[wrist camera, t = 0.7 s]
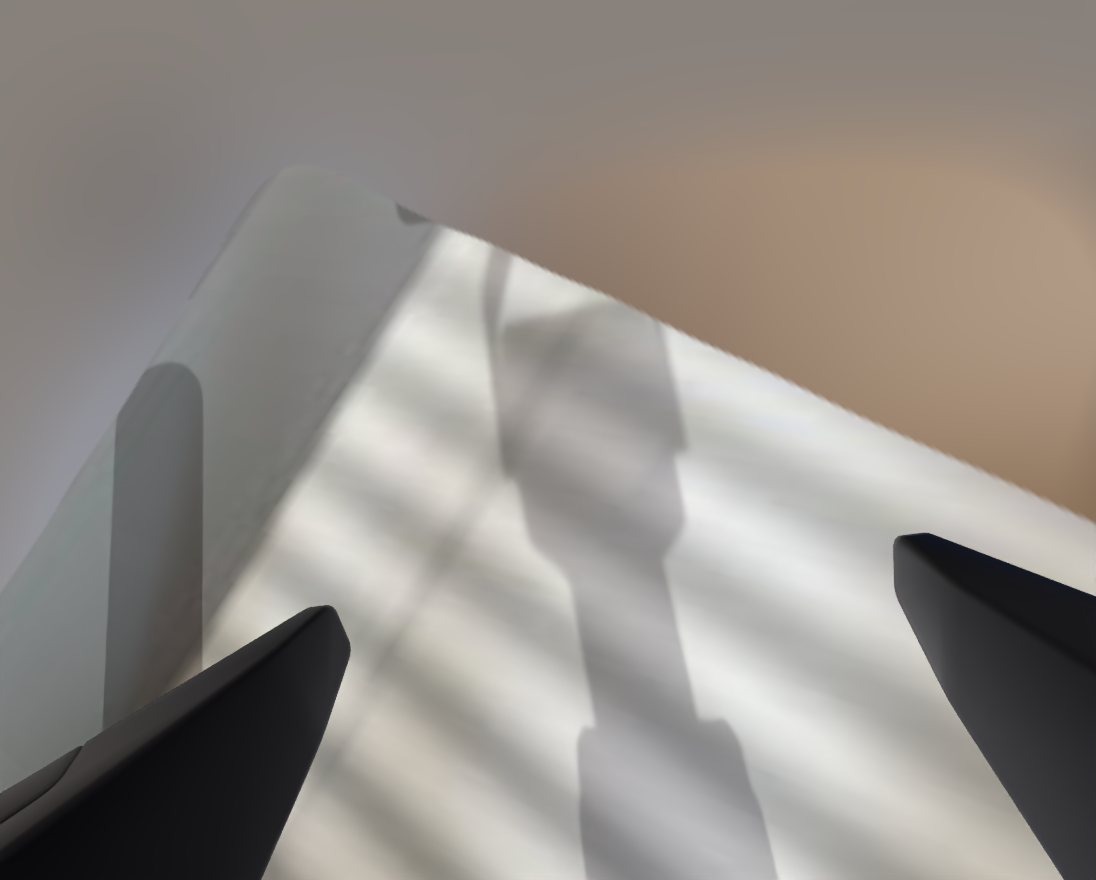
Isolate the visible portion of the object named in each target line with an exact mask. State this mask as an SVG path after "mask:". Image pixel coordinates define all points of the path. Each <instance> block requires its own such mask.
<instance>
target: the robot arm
mask: <svg viewBox="0 0 1096 880" xmlns="http://www.w3.org/2000/svg"><path fill="white" fill-rule="evenodd" d="M893 560H894V587H895V592H896V596H897V599H898V601H899V603H900V605H901V607H902V609H903V611H904V613H905V615H906V617H907V619H908V621H909V623H910V625H911V627H912V629H913V631H914V633H915V635H916V637H917V639H918V641H919V643H920V645H921V647H922V649H923V651H924V653H925V655H926V657H927V659H928V661H929V663H930V665H931V667H932V669H933V671H934V673H935V675H936V677H937V679H938V681H939V683H940V685H941V687H942V689H943V691H944V693H945V695H946V697H947V698H948V700H949V702H950V704H951V705H952V707H953V708H954V710H955V712H956V713H957V715H958V717H959V718H960V720H961V721H962V723H963V724H964V726H965V727H966V729H967V731H968V732H969V734H970V735H971V737H972V738H973V740H974V741H975V743H976V744H977V746H978V748H979V749H980V751H981V752H982V754H983V755H984V757H985V758H986V760H987V762H988V763H989V765H990V766H991V768H992V769H993V771H994V772H995V774H996V775H997V777H998V779H999V780H1000V782H1001V783H1002V785H1003V786H1004V788H1005V789H1006V791H1007V792H1008V794H1009V796H1010V797H1011V799H1012V800H1013V802H1014V803H1015V805H1016V806H1017V808H1018V809H1019V811H1020V813H1021V814H1022V816H1023V817H1024V819H1025V820H1026V822H1027V823H1028V825H1029V826H1030V828H1031V830H1032V831H1033V833H1034V834H1035V836H1036V837H1037V839H1038V840H1039V842H1040V843H1041V845H1042V847H1043V848H1044V850H1045V851H1046V853H1047V854H1048V856H1049V857H1050V859H1051V860H1052V862H1053V864H1054V865H1055V867H1056V868H1057V870H1058V871H1059V873H1060V874H1061V876H1062V877H1063V879H1064V880H1096V596H1093V595H1090V594H1088V593H1085V592H1083V591H1080V590H1077V589H1075V588H1072V587H1069V586H1067V585H1064V584H1062V583H1059V582H1056V581H1054V580H1051V579H1048V578H1046V577H1043V576H1041V575H1038V574H1035V573H1033V572H1030V571H1027V570H1025V569H1022V568H1020V567H1017V566H1014V565H1012V564H1009V563H1006V562H1004V561H1001V560H999V559H996V558H993V557H991V556H988V555H985V554H983V553H980V552H978V551H975V550H972V549H970V548H967V547H964V546H962V545H959V544H957V543H954V542H951V541H949V540H946V539H943V538H941V537H938V536H936V535H933V534H930V533H917V534H909V535H902V536H898V537H897V538H896V539H895V540H894V544H893ZM350 651H351V649H350V642H349V639H348V637H347V634H346V632H345V630H344V627H343V625H342V623H341V621H340V618H339V616H338V614H337V612H336V610H335V609H334V608H333V607H332V606H329V605H324V606H316V607H309V608H307V609H305V610H303V611H301V612H300V613H298V614H296V615H295V616H293V617H292V618H290V619H288V620H287V621H285V622H283V623H282V624H280V625H278V626H277V627H275V628H273V629H272V630H270V631H268V632H267V633H265V634H264V635H262V636H260V637H259V638H257V639H255V640H254V641H252V642H250V643H249V644H247V645H245V646H244V647H242V648H240V649H239V650H237V651H236V652H234V653H232V654H231V655H229V656H227V657H226V658H224V659H222V660H221V661H219V662H217V663H216V664H214V665H212V666H211V667H209V668H208V669H206V670H204V671H203V672H201V673H199V674H198V675H196V676H194V677H193V678H191V679H189V680H188V681H186V682H184V683H183V684H181V685H180V686H178V687H176V688H175V689H173V690H171V691H170V692H168V693H166V694H165V695H163V696H161V697H160V698H158V699H156V700H155V701H153V702H152V703H150V704H148V705H147V706H145V707H143V708H142V709H140V710H138V711H137V712H135V713H133V714H132V715H130V716H128V717H127V718H125V719H124V720H122V721H120V722H119V723H117V724H115V725H114V726H112V727H110V728H109V729H107V730H105V731H104V732H102V733H100V734H99V735H97V736H96V737H94V738H92V739H91V740H89V741H87V742H86V743H85V744H84V746H79V747H77V748H76V749H74V750H72V751H71V752H69V753H67V754H66V755H64V756H62V757H61V758H59V759H57V760H56V761H54V762H53V763H51V764H49V765H47V766H46V767H44V768H42V769H41V770H39V771H37V772H36V773H34V774H32V775H31V776H29V777H27V778H26V779H24V780H22V781H21V782H19V783H17V784H16V785H14V786H12V787H11V788H9V789H7V790H5V791H4V792H2V793H0V880H261V879H262V877H263V874H264V872H265V870H266V867H267V865H268V863H269V861H270V858H271V856H272V854H273V851H274V849H275V847H276V845H277V842H278V840H279V838H280V835H281V833H282V831H283V829H284V826H285V824H286V822H287V819H288V817H289V815H290V812H291V810H292V808H293V806H294V803H295V801H296V799H297V796H298V794H299V792H300V790H301V787H302V785H303V783H304V780H305V778H306V776H307V774H308V771H309V769H310V767H311V764H312V762H313V760H314V758H315V755H316V753H317V750H318V748H319V745H320V743H321V741H322V738H323V735H324V732H325V729H326V727H327V724H328V721H329V718H330V715H331V712H332V709H333V706H334V703H335V700H336V697H337V694H338V691H339V688H340V685H341V682H342V679H343V676H344V673H345V670H346V667H347V664H348V661H349V657H350Z"/></svg>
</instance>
